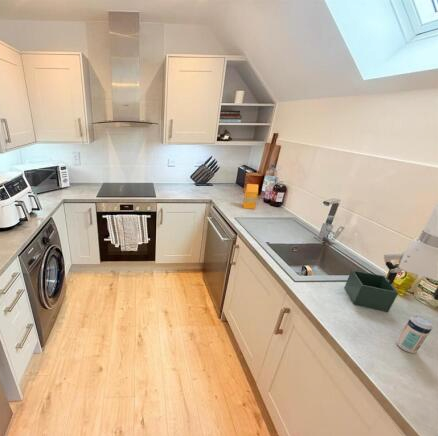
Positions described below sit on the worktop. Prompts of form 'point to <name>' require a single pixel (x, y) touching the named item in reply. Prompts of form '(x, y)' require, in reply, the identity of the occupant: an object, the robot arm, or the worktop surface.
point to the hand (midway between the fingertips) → (411, 289)
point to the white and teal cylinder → (414, 334)
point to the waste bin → (370, 290)
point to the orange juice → (250, 196)
